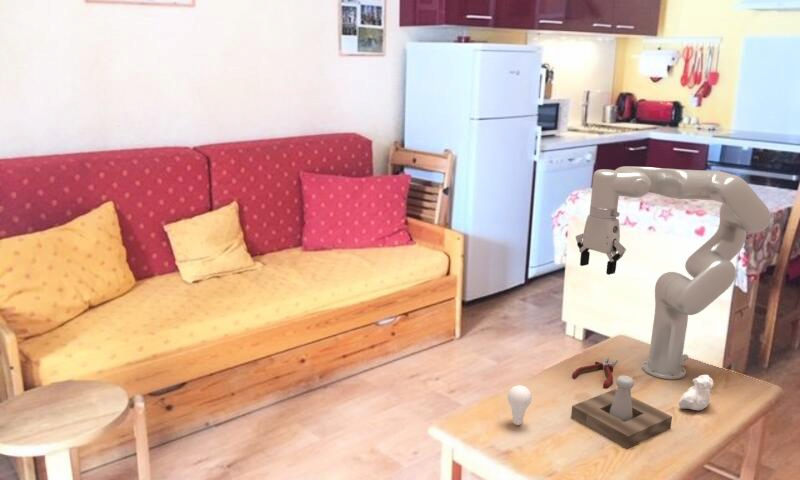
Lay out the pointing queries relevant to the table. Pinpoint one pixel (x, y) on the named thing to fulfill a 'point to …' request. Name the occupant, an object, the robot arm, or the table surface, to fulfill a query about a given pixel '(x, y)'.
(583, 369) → the pliers
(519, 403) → the lightbulb
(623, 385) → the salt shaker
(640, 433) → the walnut stand
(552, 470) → the table surface
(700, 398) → the bust
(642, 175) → the robot arm
